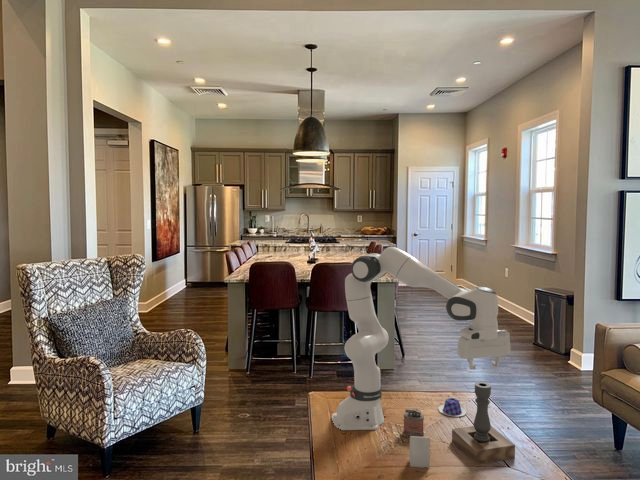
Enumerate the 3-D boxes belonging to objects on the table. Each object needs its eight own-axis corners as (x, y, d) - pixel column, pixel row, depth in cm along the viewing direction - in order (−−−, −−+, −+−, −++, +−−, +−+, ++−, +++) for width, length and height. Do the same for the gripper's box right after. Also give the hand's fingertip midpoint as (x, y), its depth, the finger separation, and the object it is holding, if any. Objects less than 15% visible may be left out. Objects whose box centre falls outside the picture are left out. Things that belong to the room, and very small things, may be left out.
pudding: (447, 403, 206) (447, 392, 206) (471, 411, 197) (471, 400, 197) (433, 411, 198) (433, 400, 197) (458, 421, 189) (458, 409, 189)
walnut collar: (475, 464, 157) (475, 450, 156) (452, 441, 172) (452, 428, 172) (514, 458, 160) (515, 445, 160) (488, 436, 176) (488, 423, 175)
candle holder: (491, 454, 163) (493, 388, 161) (474, 453, 164) (475, 387, 162) (489, 445, 169) (490, 382, 167) (472, 444, 170) (473, 380, 168)
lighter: (424, 433, 179) (424, 409, 178) (423, 437, 175) (423, 413, 175) (404, 430, 181) (404, 406, 180) (402, 434, 178) (402, 410, 177)
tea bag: (429, 467, 155) (430, 440, 154) (410, 466, 156) (410, 439, 155) (428, 461, 159) (429, 435, 158) (409, 460, 160) (409, 433, 159)
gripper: (504, 327, 168) (503, 362, 169) (455, 330, 164) (454, 367, 165) (515, 331, 162) (513, 368, 163) (464, 335, 157) (463, 373, 159)
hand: (483, 367), depth 164 cm, fingers open, 8 cm apart
